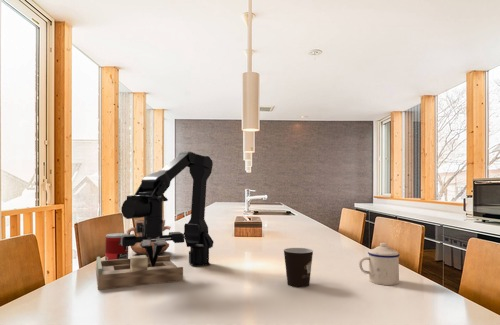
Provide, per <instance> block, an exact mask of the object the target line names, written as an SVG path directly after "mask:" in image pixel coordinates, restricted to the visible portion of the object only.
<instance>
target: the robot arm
mask: <svg viewBox="0 0 500 325" xmlns="http://www.w3.org/2000/svg"><path fill="white" fill-rule="evenodd" d="M213 165H214V162H213V160H212V159H211V157H210V156H208V155H201V154H199V153H195V152H192V151H180V152H179V153H178V155H177V156H176V157H175V158H174V159H172V160H171V161H170V162H169V163H166V165H165V166H164V167H163V168H161V169H160V170H158V171H156V172H152V173H150V174H148V175H146V176H144V177H143V178H142V179H141V183H140V185H139V187H138V188H137V190H136V191H135V193H134V195H132V194H131V195H129V194H128V195H126V199H125V200H124V201H123V202H122V205H121V214H122V216H123V217H124V218H125V219H127V220H131V219H141V218H142V219H143V220H144V224H143V223H136V224H135V228H136V232H135V233H130V234H128V235H122V236H121V245H122V246H128V247H131V246H134V245H135V244H136V243H141V244H140V246H141V247H142V248H145V250H146V252H147V254H148V255H147V257H149V261H150V264H151V267H154V265H155V263H156V260H157V258H158V256H159V253H160V251H161V250H162V248H163V247H165V246H166V244H165V241H166V242H169V241H172V242H173V243H174V244H180V243H181V244H182V243H185V244H186V245H185V246H186V247H188V248H190V250H189V251H188V263H189V264H190V265H191V266H192V267H201V266H210V265H211V263H210V249H212V248H214V247H213V246H214V240H213V239H212V237H211V236H210V234H209V226H208V224H207V222H206V219H205V216H206V215H205V214H206V198H207V183H208V179H209V178H210V176H211V175H212V172H213ZM185 168H189V170H188V171H189V175H190V177H191V178H192V194H191V205H190V206H191V209H190V218H189V221H188V222H187V223H185V224H184V225H183V226H184V227H183V229H184V230H183V233H182V232H181V231H169V232H168V234H164V232H162V230H163V219H164V217H163V216H164V214H163V213H164V202H168V201H169V198H167V197H166V196H165V195H164V194H165V193H166V191H167V190H168V189H169V188H170V186H171V182H172V180H173V179H175V178H176V177H177V176H178V175H180V173H182V171H184V169H185ZM140 233H142V236H136V235H135V234H137V235H139V234H140ZM149 237H151V238H149ZM151 242H155V243H154V250H153V248H152V245H151ZM160 254H161V253H160Z"/></svg>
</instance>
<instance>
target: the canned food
mask: <svg viewBox="0 0 500 325" xmlns="http://www.w3.org/2000/svg"><path fill="white" fill-rule="evenodd" d="M122 235H128V234H127V232H125V233H124V232H116V233H115V232H114V233H108V234H106V235H105V247H104V248H105V249H104V252H105V255H104V260H116V259H129V246H122V245H121V236H122Z"/></svg>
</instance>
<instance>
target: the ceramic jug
mask: <svg viewBox="0 0 500 325" xmlns="http://www.w3.org/2000/svg"><path fill="white" fill-rule="evenodd" d="M134 221H135V222H134V224H135V225H136V223H143V224H144V219H135V220H134ZM171 228H172V227H171V226H169V225H166V219H165V218H163V230H162V233H164V231H166V230H168V231H170V230H171ZM131 232H135V233H136V227H134V226H133V227H129V228H128V230H127V231H126V234H131ZM140 236H142V233H140V234H138V237H140ZM149 238H151V237H149ZM154 243H155V242H151V245H152V248H153V250H154ZM140 244H141V243H136V244H135V245H134V246H130V249H131V250H132V251H133V252H134V254H137V255H139V256H140V255H146V256H148V254H147V252H146V250H145V248H142V247H141V246H140ZM165 244H166V246H165V247H163V248H162V250H161V251H160V253H159V254H162V253H164V252H166V251H167V250H168V249H169V247H170V243H168V241H165Z"/></svg>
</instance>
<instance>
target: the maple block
mask: <svg viewBox="0 0 500 325" xmlns="http://www.w3.org/2000/svg"><path fill="white" fill-rule="evenodd" d="M129 257H130V271H141V270H147V266H148V258H147V257H148V255H140V254H139V255H131V256H129Z"/></svg>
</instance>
